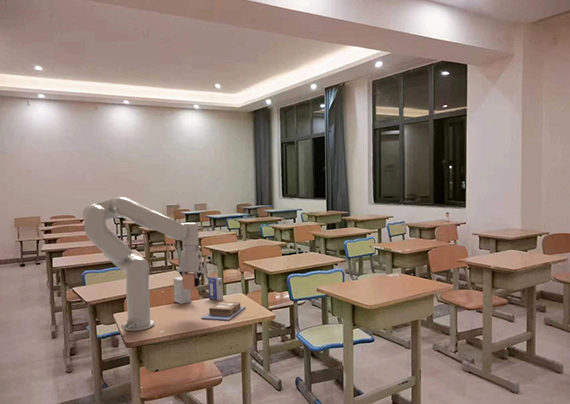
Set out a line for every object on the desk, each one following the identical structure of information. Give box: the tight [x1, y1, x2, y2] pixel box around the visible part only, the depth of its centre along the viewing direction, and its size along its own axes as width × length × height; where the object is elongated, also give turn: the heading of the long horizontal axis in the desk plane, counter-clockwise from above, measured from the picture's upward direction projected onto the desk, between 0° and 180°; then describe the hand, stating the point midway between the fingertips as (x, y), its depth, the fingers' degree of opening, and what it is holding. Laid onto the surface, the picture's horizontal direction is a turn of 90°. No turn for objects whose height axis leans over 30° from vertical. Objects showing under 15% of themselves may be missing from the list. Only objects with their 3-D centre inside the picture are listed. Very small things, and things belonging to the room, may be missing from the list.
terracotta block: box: [183, 272, 200, 291], centre depth 196 cm, size 6×6×7 cm
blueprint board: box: [201, 306, 246, 322], centre depth 197 cm, size 20×14×1 cm
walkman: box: [207, 276, 224, 301], centre depth 224 cm, size 8×3×12 cm, turn 58°
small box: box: [173, 276, 192, 305], centre depth 221 cm, size 8×6×13 cm
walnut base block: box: [208, 300, 242, 316], centre depth 198 cm, size 12×11×3 cm
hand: (191, 285), depth 196 cm, fingers closed on terracotta block, 5 cm apart
